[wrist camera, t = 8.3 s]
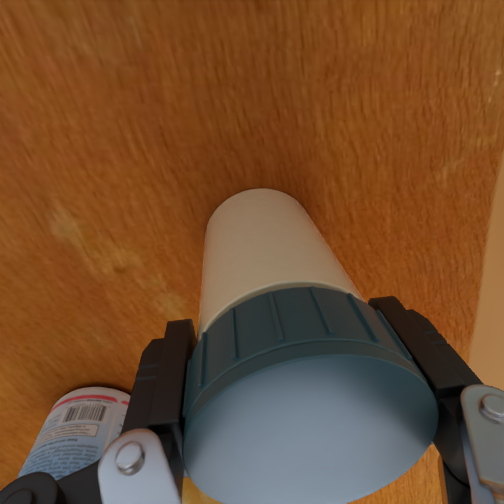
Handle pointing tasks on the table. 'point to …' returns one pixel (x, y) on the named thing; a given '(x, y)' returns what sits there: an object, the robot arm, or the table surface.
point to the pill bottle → (77, 431)
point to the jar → (263, 253)
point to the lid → (303, 402)
